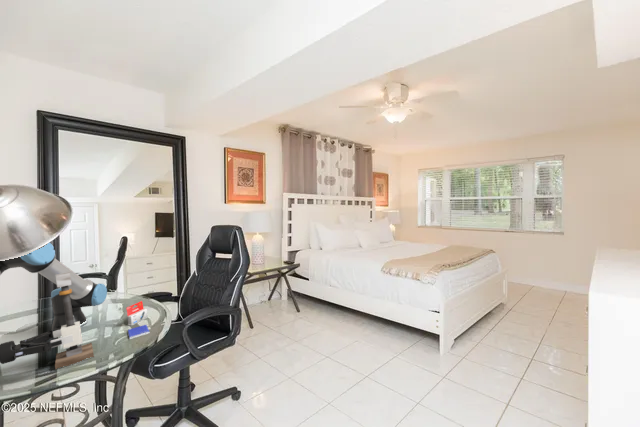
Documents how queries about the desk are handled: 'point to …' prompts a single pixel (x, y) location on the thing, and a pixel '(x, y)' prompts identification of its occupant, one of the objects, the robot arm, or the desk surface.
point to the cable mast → (74, 352)
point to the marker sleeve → (73, 331)
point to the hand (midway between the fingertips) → (73, 333)
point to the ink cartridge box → (136, 313)
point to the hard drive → (138, 331)
